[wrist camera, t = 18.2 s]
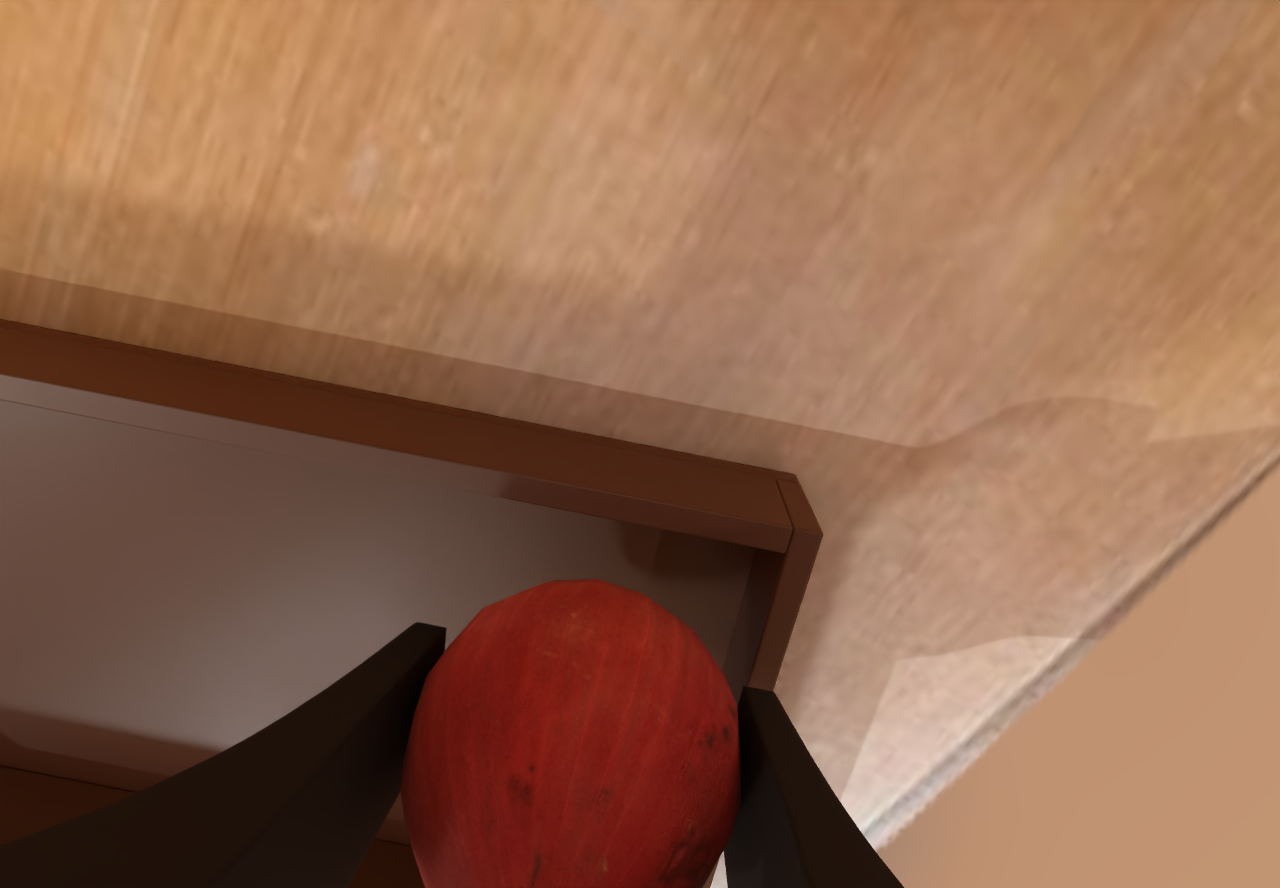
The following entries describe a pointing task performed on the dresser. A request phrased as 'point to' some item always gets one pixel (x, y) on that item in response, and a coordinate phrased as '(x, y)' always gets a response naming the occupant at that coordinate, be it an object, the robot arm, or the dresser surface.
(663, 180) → the dresser surface
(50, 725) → the brown dish
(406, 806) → the pomegranate
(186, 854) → the robot arm
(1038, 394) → the dresser surface
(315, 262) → the dresser surface
